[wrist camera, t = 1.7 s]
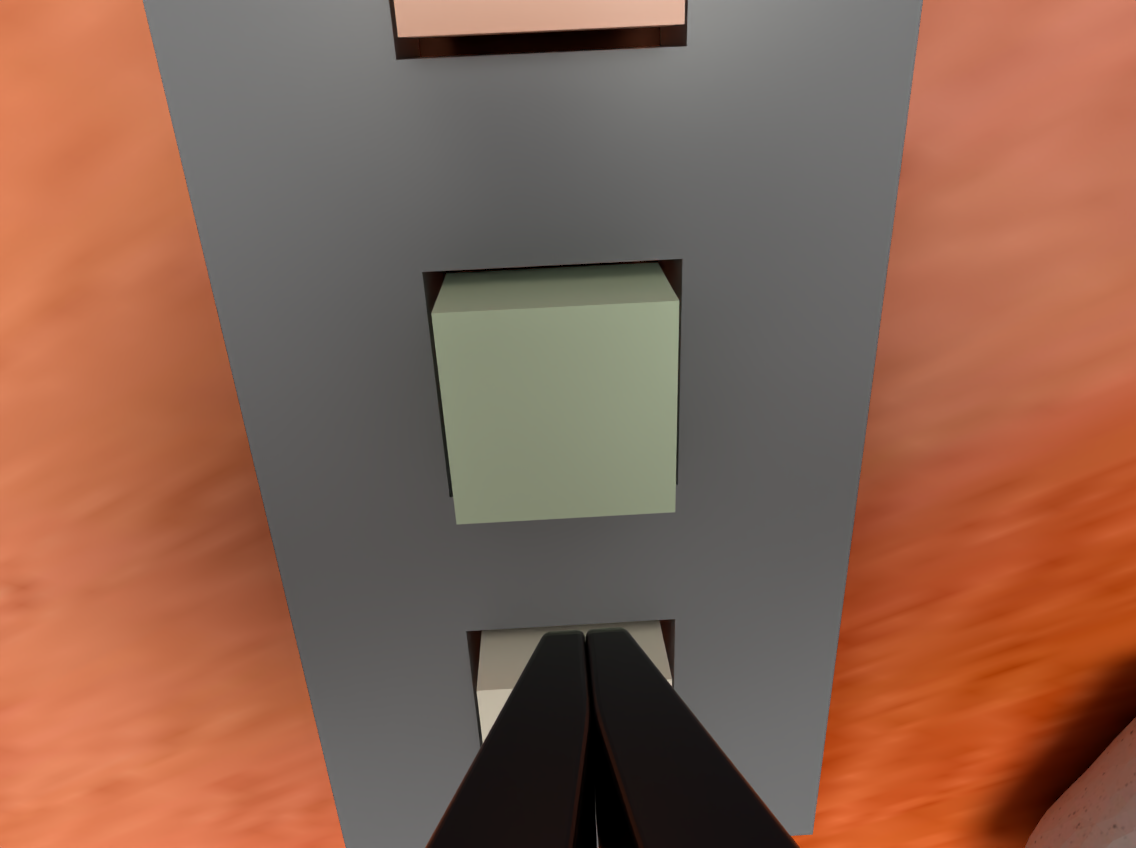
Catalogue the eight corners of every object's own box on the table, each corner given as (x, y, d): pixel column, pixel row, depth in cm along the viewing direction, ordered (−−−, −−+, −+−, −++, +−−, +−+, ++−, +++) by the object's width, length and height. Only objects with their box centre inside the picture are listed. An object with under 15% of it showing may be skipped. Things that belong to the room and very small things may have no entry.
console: (903, -491, 12) (1007, -640, 10) (780, 743, 24) (812, 834, 21) (117, -463, 12) (-4, -609, 9) (371, 768, 23) (349, 863, 21)
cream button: (655, 602, 19) (672, 679, 16) (654, 729, 20) (669, 814, 18) (483, 612, 19) (476, 690, 16) (497, 738, 20) (492, 825, 18)
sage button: (657, 262, 15) (679, 300, 13) (656, 449, 17) (675, 512, 15) (446, 273, 15) (431, 313, 13) (466, 460, 17) (456, 524, 15)
